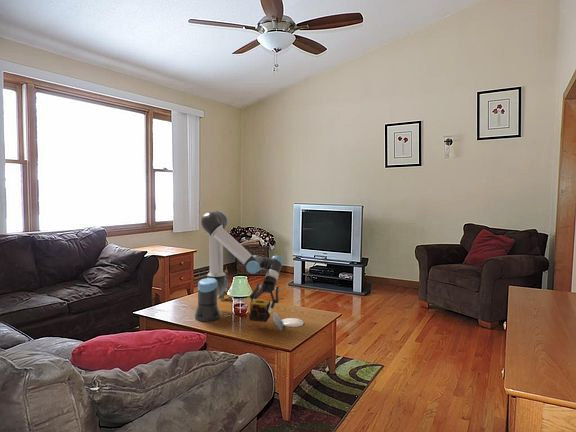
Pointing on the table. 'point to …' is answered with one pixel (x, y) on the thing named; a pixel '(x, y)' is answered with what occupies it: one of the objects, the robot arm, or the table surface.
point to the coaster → (292, 322)
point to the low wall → (278, 321)
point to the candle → (259, 310)
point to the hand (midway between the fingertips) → (259, 311)
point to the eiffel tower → (227, 288)
